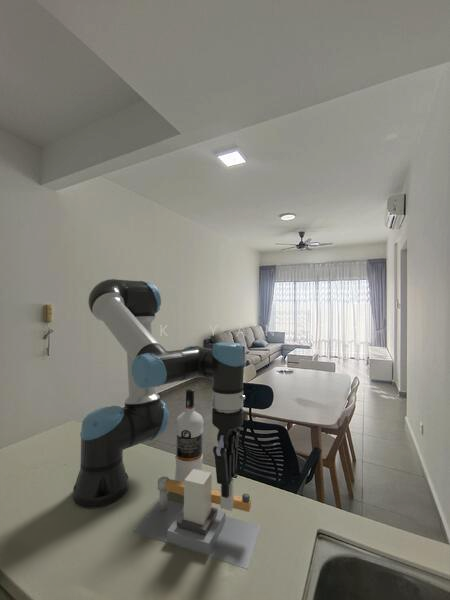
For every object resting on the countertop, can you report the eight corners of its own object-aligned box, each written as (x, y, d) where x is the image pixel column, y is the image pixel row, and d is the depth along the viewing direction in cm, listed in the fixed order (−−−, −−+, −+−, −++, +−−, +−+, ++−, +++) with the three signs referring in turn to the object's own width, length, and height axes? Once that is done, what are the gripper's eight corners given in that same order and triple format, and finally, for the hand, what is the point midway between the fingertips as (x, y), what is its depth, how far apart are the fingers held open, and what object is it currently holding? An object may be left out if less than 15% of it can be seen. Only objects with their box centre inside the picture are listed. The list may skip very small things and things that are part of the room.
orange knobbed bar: (155, 489, 75) (155, 478, 76) (161, 483, 78) (161, 472, 78) (248, 513, 67) (248, 500, 67) (251, 505, 70) (251, 493, 70)
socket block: (133, 535, 68) (133, 509, 68) (161, 502, 80) (161, 479, 80) (247, 574, 59) (247, 543, 59) (260, 529, 70) (261, 504, 71)
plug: (176, 538, 66) (177, 481, 67) (190, 516, 73) (191, 465, 74) (205, 547, 64) (206, 488, 64) (217, 524, 71) (217, 471, 71)
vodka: (208, 483, 89) (209, 386, 90) (196, 502, 80) (198, 395, 81) (181, 477, 92) (183, 384, 93) (167, 495, 83) (169, 392, 84)
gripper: (234, 419, 61) (233, 531, 60) (249, 401, 73) (249, 494, 72) (202, 414, 64) (201, 522, 63) (222, 397, 76) (222, 487, 75)
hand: (227, 507), depth 68 cm, fingers closed
